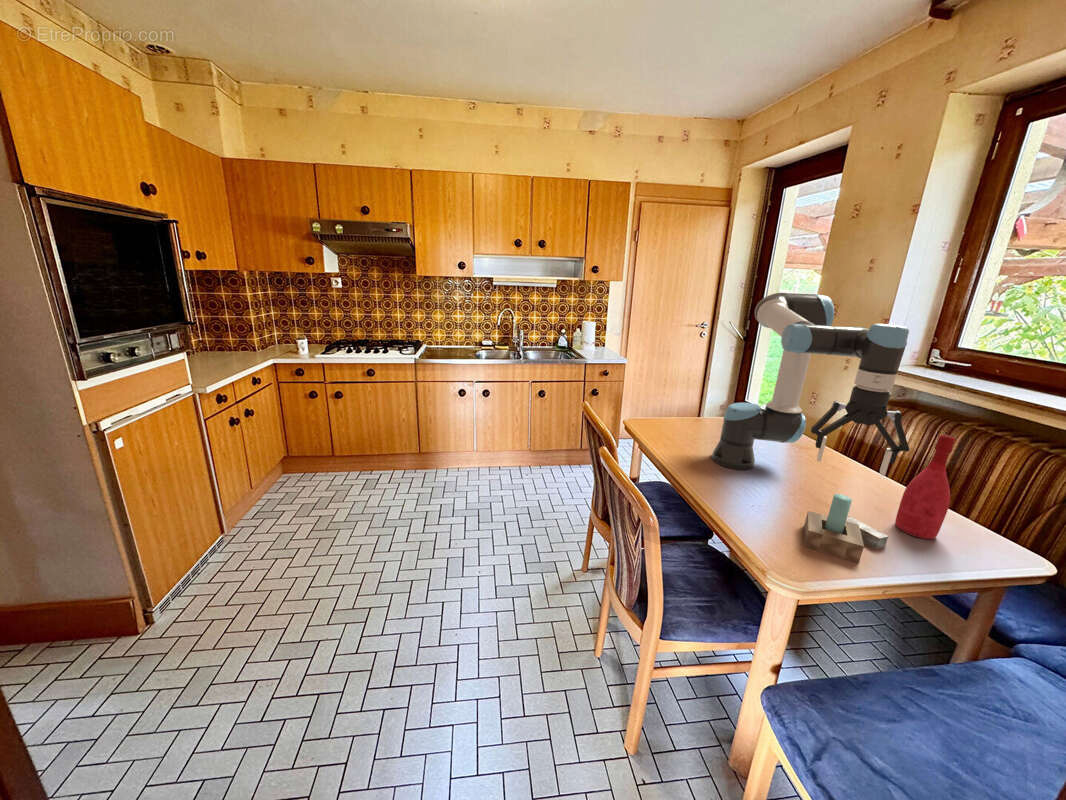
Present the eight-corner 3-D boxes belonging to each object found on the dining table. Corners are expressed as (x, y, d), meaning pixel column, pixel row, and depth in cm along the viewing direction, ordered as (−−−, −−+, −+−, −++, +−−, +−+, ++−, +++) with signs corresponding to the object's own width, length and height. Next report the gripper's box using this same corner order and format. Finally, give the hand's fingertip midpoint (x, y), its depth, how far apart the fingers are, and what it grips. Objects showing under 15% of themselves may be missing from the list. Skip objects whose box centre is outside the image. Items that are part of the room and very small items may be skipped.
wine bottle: (884, 521, 129) (914, 428, 121) (914, 521, 130) (946, 429, 121) (915, 541, 120) (950, 442, 111) (946, 540, 121) (983, 442, 112)
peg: (821, 544, 116) (834, 498, 112) (820, 537, 119) (833, 492, 115) (839, 549, 114) (852, 503, 110) (838, 542, 117) (851, 497, 113)
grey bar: (839, 529, 124) (842, 518, 123) (847, 527, 125) (851, 516, 124) (876, 550, 115) (879, 538, 114) (884, 547, 116) (888, 536, 115)
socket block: (804, 546, 115) (808, 530, 113) (804, 525, 125) (808, 510, 123) (858, 563, 109) (864, 546, 107) (854, 540, 119) (858, 524, 117)
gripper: (813, 382, 108) (794, 458, 114) (943, 401, 96) (914, 485, 102) (812, 376, 114) (794, 449, 120) (934, 394, 102) (907, 474, 108)
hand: (849, 466), depth 111 cm, fingers open, 13 cm apart
